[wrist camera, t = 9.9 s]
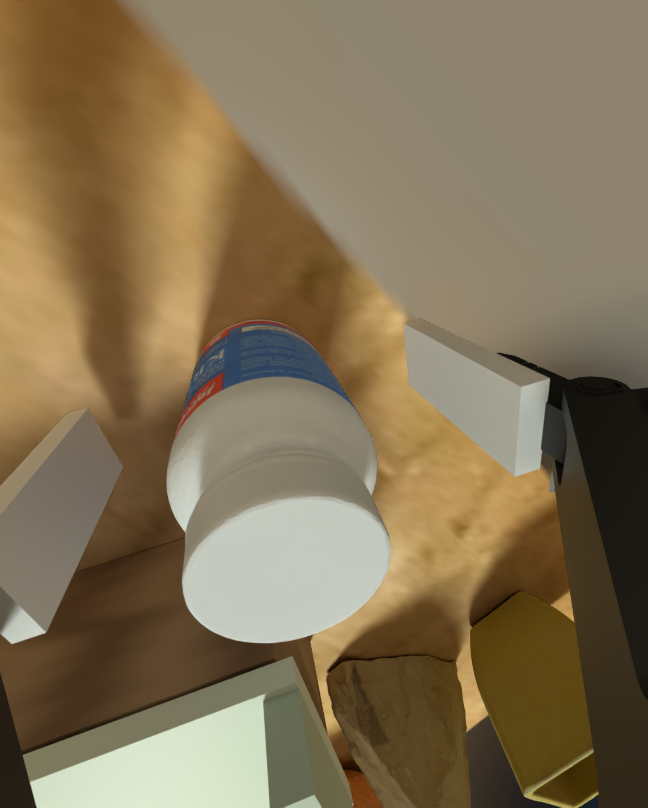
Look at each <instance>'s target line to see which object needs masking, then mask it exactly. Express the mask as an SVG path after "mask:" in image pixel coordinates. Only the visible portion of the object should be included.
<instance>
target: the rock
mask: <svg viewBox="0 0 648 808" xmlns="http://www.w3.org/2000/svg"><path fill="white" fill-rule="evenodd" d="M326 682H327V686H328V694H329V696H330V698H331V702H332V710H333V713H334V716H335V718H336V720H337V722H338V723H339V725H340V727H341V729H342V732H343V734H344V736H345V738H346V740H347V742H348V746H349V750H350V753H351V755H352V756H353V758H354V760H355V762H356V764H357V765H358V766H359V767H360V769H361V771H362V772H363V773H364V775H365V777H366V779H367V781H368V784H369V785H370V787H371V788H372V789H373V790H374V792H375V794H376V796H377V798H378V800H379V801H380V803H381V804H382V806H383V808H470V803H471V798H470V787H469V776H468V759H467V755H466V742H465V736H466V730H467V726H466V718H465V708H464V703H463V696H462V687H461V684H460V681H459V680H458V677H457V667H456V662H455V661H451V662H445V661H442V660H438V659H437V658H434V657H430V656H429V655H426V656H401V657H396V658H378V659H375V660H373V661H364V660H363V661H362V660H356V661H355V660H351V661H344V662H341V663H340V664H339V665H338V666H337V667H336V668H335V669H333V670H332V671H331V672H330V673H329V674H328V675H327V679H326Z"/></svg>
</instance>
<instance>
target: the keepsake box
mask: <svg viewBox="0 0 648 808" xmlns="http://www.w3.org/2000/svg"><path fill="white" fill-rule="evenodd" d="M184 555H185V538H183V539H180V540H177V541H174V542H171V543H168V544H165V545H161V546H158V547H155V548H152V549H149V550H146V551H143V552H139V553H136V554H133V555H130V556H127V557H124V558H121V559H117V560H114V561H111V562H108V563H105V564H102V565H99V566H95V567H92V568H89V569H86V570H83V571H80V572H77V573H74V574H73V576H72V579H71V581H70V583H69V585H68V587H67V589H66V591H65V594H64V596H63V598H62V600H61V602H60V604H59V606H58V609H57V611H56V613H55V615H54V617H53V619H52V622H51V624H50V626H49V628H48V630H47V632H46V633H44V634H41V635H38V636H35V637H32V638H29V639H26V640H23V641H20V642H17V643H14V644H11V643H10V642H9V641H8V640H7V639H6V638H5V637H3V636H2V635H1V634H0V673H1V676H2V680H3V684H4V688H5V691H6V695H7V699H8V703H9V706H10V710H11V714H12V717H13V721H14V725H15V729H16V732H17V736H18V740H19V744H20V747H21V751H22V755H24V754H27V753H30V752H32V751H35V750H38V749H40V748H43V747H46V746H49V745H51V744H54V743H57V742H59V741H62V740H65V739H68V738H70V737H73V736H76V735H79V734H81V733H84V732H87V731H89V730H92V729H95V728H98V727H100V726H103V725H106V724H108V723H111V722H114V721H117V720H119V719H122V718H125V717H128V716H130V715H133V714H136V713H138V712H141V711H144V710H147V709H149V708H152V707H155V706H158V705H160V704H163V703H166V702H168V701H171V700H174V699H177V698H179V697H182V696H185V695H187V694H190V693H193V692H196V691H198V690H201V689H204V688H207V687H209V686H212V685H215V684H217V683H220V682H223V681H226V680H228V679H231V678H234V677H236V676H239V675H242V674H245V673H247V672H250V671H253V670H256V669H258V668H261V667H264V666H266V665H269V664H272V663H275V662H277V661H280V660H283V659H285V658H288V657H291V656H293V658H294V661H295V663H296V665H297V667H298V670H299V672H300V674H301V676H302V679H303V681H304V683H305V685H306V688H307V690H308V692H309V694H310V697H311V699H312V701H313V703H314V706H315V708H316V710H317V712H318V715H319V717H320V719H321V721H322V724H323V726H324V728H325V730H326V733H327V728H326V723H325V717H324V712H323V707H322V702H321V696H320V691H319V686H318V680H317V675H316V670H315V664H314V659H313V654H312V648H311V643H310V640H309V638H308V636H307V637H303V638H299V639H295V640H290V641H283V642H276V643H252V642H243V641H237V640H233V639H230V638H226V637H224V636H221V635H219V634H217V633H214V632H213V631H211V630H209V629H208V628H206V627H205V626H204V625H202V624H201V623H200V622H199V621H198V620H197V619H196V618H195V617H194V616H193V615H192V613H191V612H190V611H189V609H188V607H187V605H186V602H185V598H184V595H183V588H182V572H183V563H184ZM327 735H328V733H327Z"/></svg>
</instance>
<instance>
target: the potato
mask: <svg viewBox="0 0 648 808" xmlns="http://www.w3.org/2000/svg"><path fill="white" fill-rule="evenodd" d="M343 771H344V773H345V775H346V777H347V780H348V782H349V786H350V791H351V795H352V800H353V808H383V806H382V804H381V803H380V801H379V800H378V798H377V796H376V794H375V792H374V790H373V789H372V788H371V787H370V785H369V784H368V781H367V779H366V777H365V775H364V773H361V772H357V771H354V770H347V769H343Z"/></svg>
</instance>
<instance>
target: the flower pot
mask: <svg viewBox="0 0 648 808" xmlns="http://www.w3.org/2000/svg"><path fill="white" fill-rule="evenodd" d="M470 648H471V658H472V665H473V670H474V675H475V679H476V682H477V686H478V689H479V692H480V695H481V698H482V700H483V702H484V705H485V707H486V710H487V712H488V714H489V717H490V719H491V721H492V724H493V726H494V728H495V731H496V733H497V735H498V737H499V740H500V742H501V744H502V747H503V748H504V751H505V753H506V755H507V758H508V760H509V763H510V765H511V767H512V769H513V772H514V774H515V776H516V779H517V781H518V783H519V786H520V788H521V791H522V793H523V795H524V796H525V797H527V798H530V799H532V800H536V801H541V802H545V803H549V804H552V805H557V806H560V807H562V808H578V807H580V806H581V805H583V804H584V803H586V802H587V801H589V800H591V799H592V798H594V797H595V796H596V795H598V780H597V771H596V764H595V757H594V751H593V744H592V737H591V730H590V723H589V717H588V710H587V703H586V696H585V690H584V683H583V676H582V669H581V662H580V656H579V649H578V642H577V635H576V629H575V623H574V622H573V621H572V620H571V619H569V618H568V617H567V616H566V615H564V614H563V613H561V612H560V611H558V610H557V609H556V608H554V607H552V606H551V605H549V604H548V603H546V602H544V601H542V600H540V599H538V598H536V597H534V596H532V595H530V594H528V593H525V592H518V593H516V594H515V595H514V596H512V597H511V598H510V599H508V600H507V601H506V602H505V603H503V604H502V605H501V606H500V607H498V608H497V609H496V610H494V611H493V612H492V613H490V614H489V615H488V616H486V617H485V618H484V619H482V620H481V621H480V622H478V623H477V624H476V625H475V626H473V627H472V628H471V630H470Z"/></svg>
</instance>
